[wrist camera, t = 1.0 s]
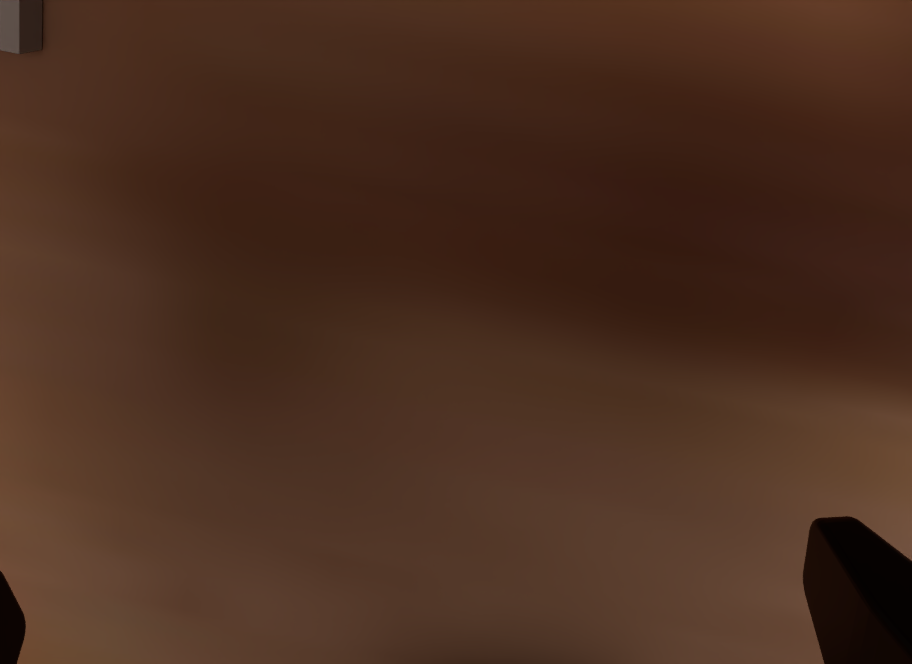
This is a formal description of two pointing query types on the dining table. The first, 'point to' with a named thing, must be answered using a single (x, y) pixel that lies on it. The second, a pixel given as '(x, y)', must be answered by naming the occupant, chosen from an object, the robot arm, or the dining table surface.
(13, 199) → the dining table surface
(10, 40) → the slate mat
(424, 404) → the dining table surface
